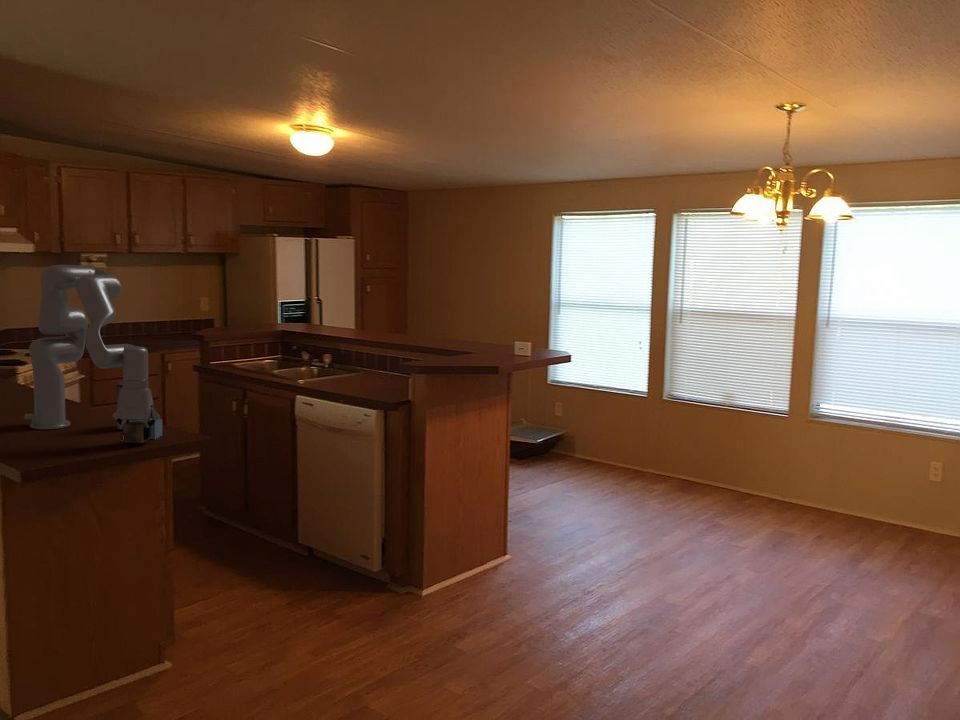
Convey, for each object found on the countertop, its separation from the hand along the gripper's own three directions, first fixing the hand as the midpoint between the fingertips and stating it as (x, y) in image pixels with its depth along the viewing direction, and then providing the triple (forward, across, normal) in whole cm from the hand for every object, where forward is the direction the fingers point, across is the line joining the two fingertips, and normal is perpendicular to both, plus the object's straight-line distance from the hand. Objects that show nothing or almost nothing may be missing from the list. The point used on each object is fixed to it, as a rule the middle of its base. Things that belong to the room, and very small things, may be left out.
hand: (136, 438), depth 251 cm
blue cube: (+2, 0, +10) cm, 10 cm away
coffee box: (+2, -12, +24) cm, 27 cm away
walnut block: (+1, 0, 0) cm, 1 cm away
